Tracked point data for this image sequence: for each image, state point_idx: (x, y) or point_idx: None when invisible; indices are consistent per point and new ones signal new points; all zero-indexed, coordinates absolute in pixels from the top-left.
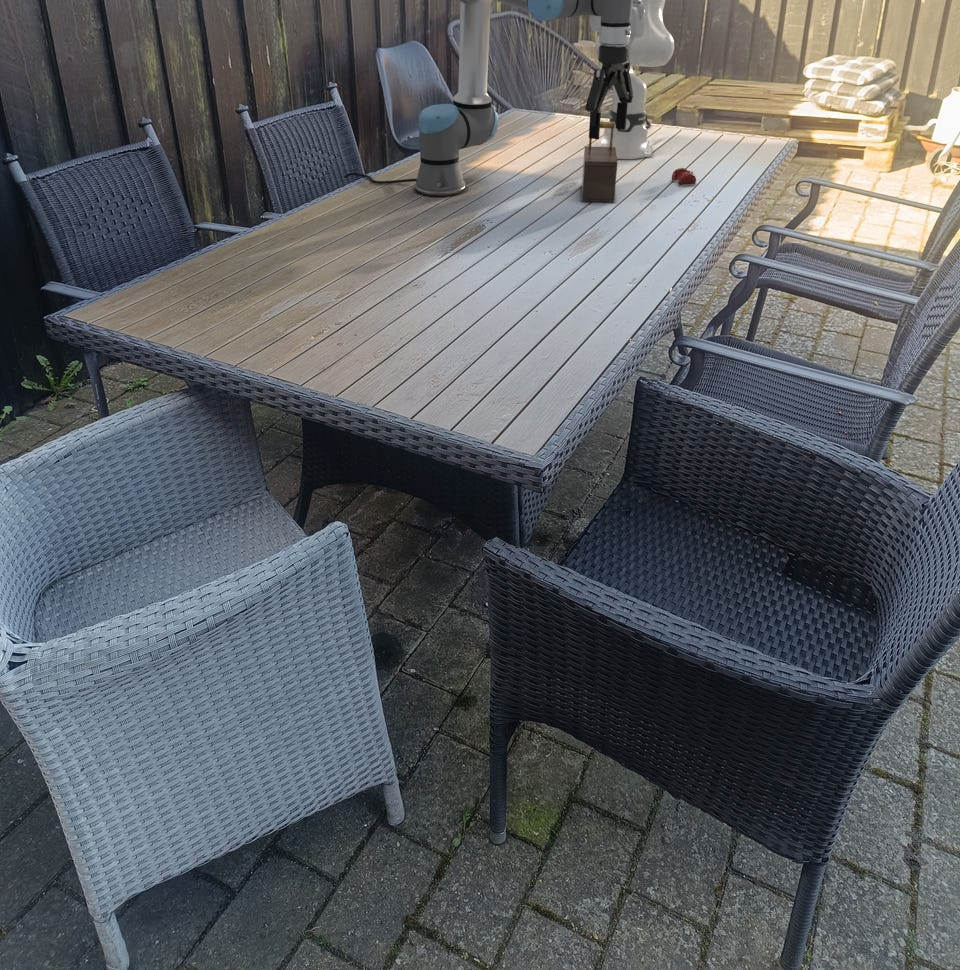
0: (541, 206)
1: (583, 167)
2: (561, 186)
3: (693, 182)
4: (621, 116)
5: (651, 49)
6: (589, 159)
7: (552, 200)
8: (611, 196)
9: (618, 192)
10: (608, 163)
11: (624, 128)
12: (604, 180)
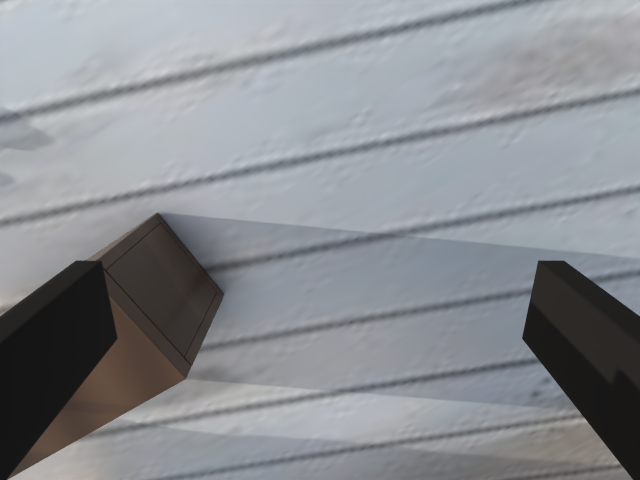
0: (343, 357)
1: None
2: (146, 410)
3: None
4: (43, 362)
5: None
6: (149, 378)
7: (274, 363)
8: (156, 226)
9: (54, 256)
10: (117, 297)
11: (92, 264)
12: (155, 273)
